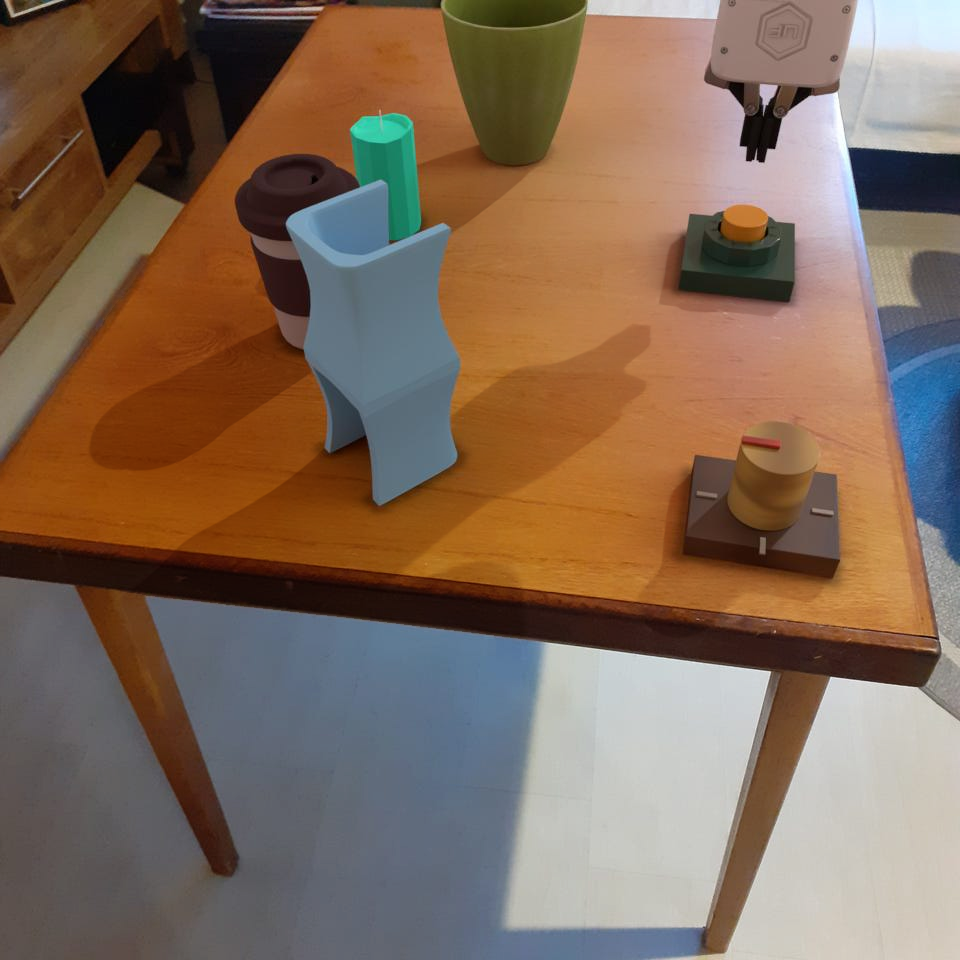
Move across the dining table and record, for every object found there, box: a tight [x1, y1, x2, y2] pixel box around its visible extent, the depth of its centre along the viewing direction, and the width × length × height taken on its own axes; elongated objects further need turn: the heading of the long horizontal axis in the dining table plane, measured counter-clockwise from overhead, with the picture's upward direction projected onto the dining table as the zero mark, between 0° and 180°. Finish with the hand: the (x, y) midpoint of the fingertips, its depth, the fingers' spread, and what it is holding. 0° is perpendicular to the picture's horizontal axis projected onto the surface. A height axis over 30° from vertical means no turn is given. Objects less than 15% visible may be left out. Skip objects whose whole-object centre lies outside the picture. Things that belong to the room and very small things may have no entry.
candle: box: [349, 109, 422, 242], centre depth 90 cm, size 6×6×12 cm
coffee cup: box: [234, 153, 360, 351], centre depth 77 cm, size 10×10×15 cm
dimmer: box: [682, 454, 841, 579], centre depth 64 cm, size 10×9×2 cm
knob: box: [727, 420, 821, 531], centre depth 62 cm, size 5×5×6 cm
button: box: [720, 204, 769, 243], centre depth 84 cm, size 4×4×2 cm
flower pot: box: [440, 0, 589, 166], centre depth 99 cm, size 15×15×16 cm
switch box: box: [677, 210, 796, 303], centre depth 86 cm, size 10×10×4 cm
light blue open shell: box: [286, 180, 461, 507], centre depth 64 cm, size 8×8×20 cm
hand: (755, 154), depth 80 cm, fingers closed
